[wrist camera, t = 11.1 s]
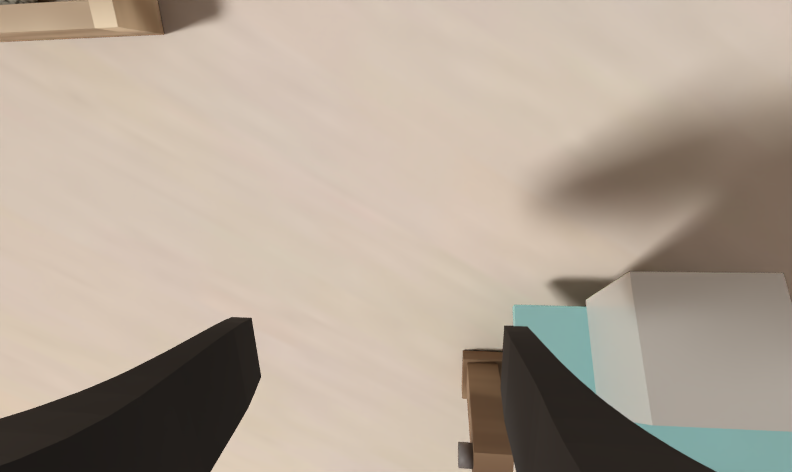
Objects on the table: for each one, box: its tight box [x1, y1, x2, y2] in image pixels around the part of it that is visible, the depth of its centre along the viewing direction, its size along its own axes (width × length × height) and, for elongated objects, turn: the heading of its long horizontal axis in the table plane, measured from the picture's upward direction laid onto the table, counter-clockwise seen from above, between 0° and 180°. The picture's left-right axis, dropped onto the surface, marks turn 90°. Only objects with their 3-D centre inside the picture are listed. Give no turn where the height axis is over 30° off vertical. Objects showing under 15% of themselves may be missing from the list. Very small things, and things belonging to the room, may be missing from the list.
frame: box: [458, 350, 514, 472], centre depth 20 cm, size 3×17×7 cm, turn 92°
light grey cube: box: [586, 271, 792, 432], centre depth 16 cm, size 5×5×5 cm
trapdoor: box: [513, 305, 792, 472], centre depth 18 cm, size 11×12×2 cm
